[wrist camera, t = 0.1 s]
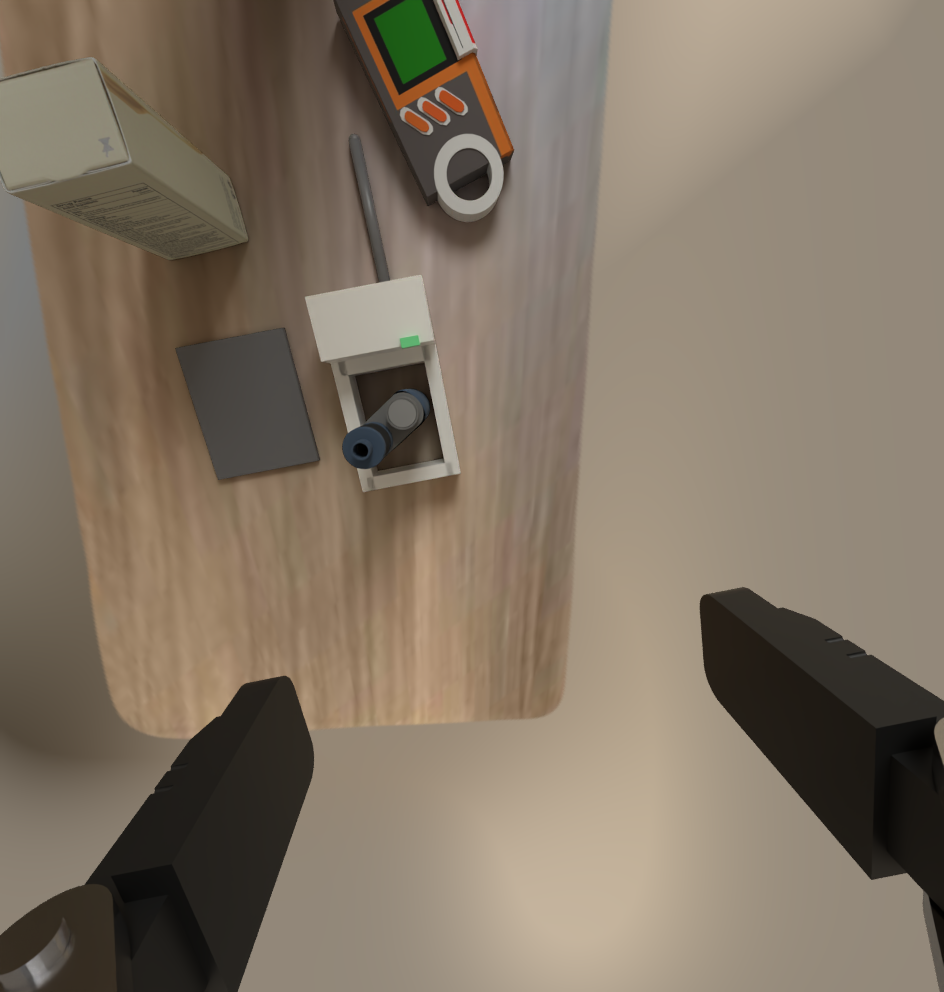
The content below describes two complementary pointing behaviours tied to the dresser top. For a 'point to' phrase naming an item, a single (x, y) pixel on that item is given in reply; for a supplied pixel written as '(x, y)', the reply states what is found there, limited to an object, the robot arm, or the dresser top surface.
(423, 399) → the vaping device
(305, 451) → the mat
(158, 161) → the skincare box
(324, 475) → the dresser top surface
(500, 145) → the electronic device
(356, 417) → the dock
